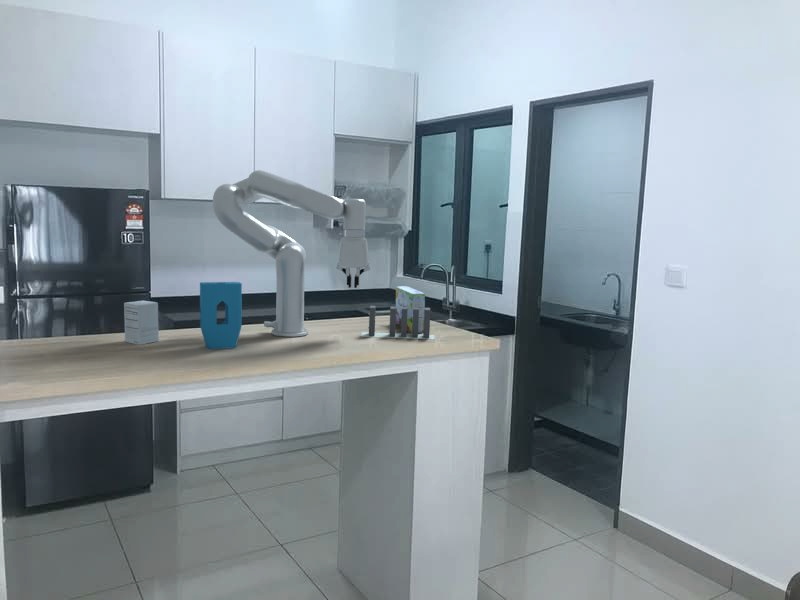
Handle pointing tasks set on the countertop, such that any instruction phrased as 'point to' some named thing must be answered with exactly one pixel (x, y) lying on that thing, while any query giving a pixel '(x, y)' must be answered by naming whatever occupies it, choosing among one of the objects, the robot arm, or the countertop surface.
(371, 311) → the domino
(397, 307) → the snack box
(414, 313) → the domino
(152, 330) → the supplement box
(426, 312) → the domino
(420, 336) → the mat
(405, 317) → the domino
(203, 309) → the block
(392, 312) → the domino
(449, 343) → the countertop surface
